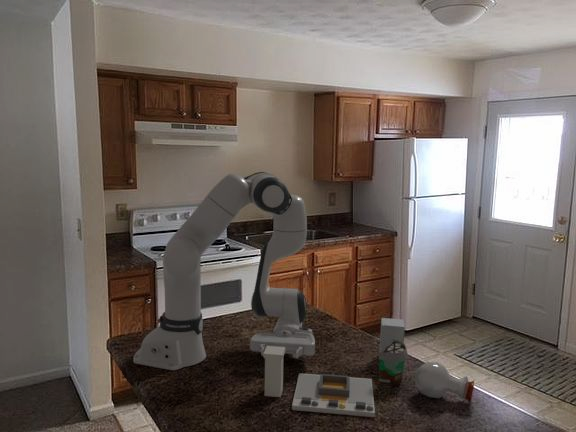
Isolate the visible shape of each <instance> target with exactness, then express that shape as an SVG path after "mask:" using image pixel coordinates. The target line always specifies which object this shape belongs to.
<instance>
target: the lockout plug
mask: <svg viewBox="0 0 576 432" xmlns="http://www.w3.org/2000/svg"><path fill="white" fill-rule="evenodd" d="M284 356H285V347H277V346H266V349H265V351H264V353H263V359H264V397H273V398H281V397H282V394H283V391H284V390H283V389H284Z"/></svg>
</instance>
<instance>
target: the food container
mask: <svg viewBox="0 0 576 432" xmlns="http://www.w3.org/2000/svg"><path fill="white" fill-rule="evenodd" d="M407 357H408V347H407V346H406V344H405V342H404V343H402V342H400V341H398V340H395V339H393V343H392V344H391V345H389V346H388V347H387V348H386V349H385V350H384V352H380V354H379V353H378V360H379V364H378V365H379V370H378V371H379V372H378V373H379V374H378V376H379V377H378V379H379V380H378V381H379V382H378V384H380V385H383V386H395V385H399V384H401V383H402V381H403V377H404V376H403V375H404V368H405V360H406V358H407Z"/></svg>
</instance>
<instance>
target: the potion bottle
mask: <svg viewBox="0 0 576 432" xmlns="http://www.w3.org/2000/svg"><path fill="white" fill-rule="evenodd" d="M414 377H415V385H416V387H417V388H418V390H419V391H420V393H421V394H422V395H424V396H426V397H428V398H429V399H430V398H431V399H441V398H442V397H443V396H445V395H446V394H447V393H448V394H450V395H454V396H455V397H457V398H458V399H459V401H460V402H461V403H462V402H463V401H464V400H465V401H467V403H468V404H470V403H471V401H472V397H473V392H474V389H475V380H472V381H469V378H468V376H466V375H465V376H464V377H461V378H457V377H453V376H451V375H450V373H449V371H448V370H447V367H446V366H444V365H443V364H441V363H439V362H437V361H429V362H428V361H427V362H425V363H424V364H421V365H420V366H419V367H418V369H417V370H416V373H415V375H414Z"/></svg>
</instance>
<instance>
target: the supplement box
mask: <svg viewBox="0 0 576 432" xmlns="http://www.w3.org/2000/svg"><path fill="white" fill-rule="evenodd" d="M380 320H381V321H380V337H379V353H378V355H379V354H380V352H384V350H385V349H386V348H387V347H388V346H389V345H391V344H392V343H393V339H395V340H398V341H400V342H402V343H404V344H405V328H406V325H405V321H404V319H403V318H402V319H399V318H388V317H386V318H385V317H381V319H380Z"/></svg>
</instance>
